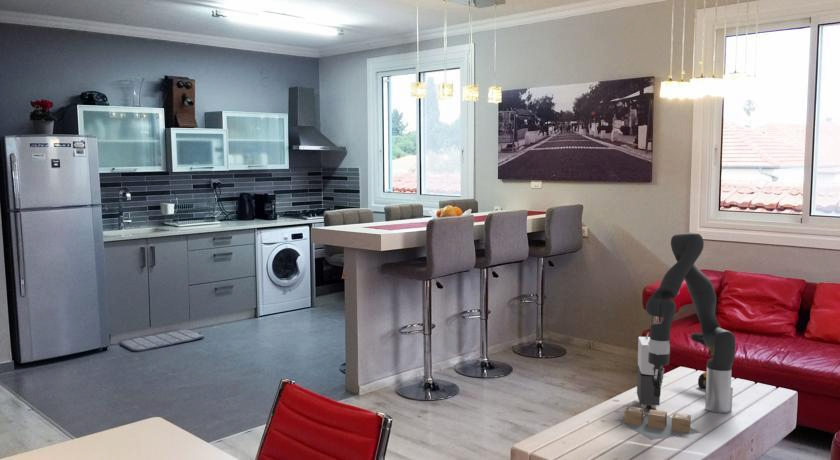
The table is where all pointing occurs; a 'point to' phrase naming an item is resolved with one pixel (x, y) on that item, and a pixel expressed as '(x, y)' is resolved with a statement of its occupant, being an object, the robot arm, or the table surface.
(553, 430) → the table surface
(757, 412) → the table surface
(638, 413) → the marked block 1
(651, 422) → the plain block
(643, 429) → the mat
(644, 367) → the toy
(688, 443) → the table surface
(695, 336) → the power drill
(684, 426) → the marked block 2
